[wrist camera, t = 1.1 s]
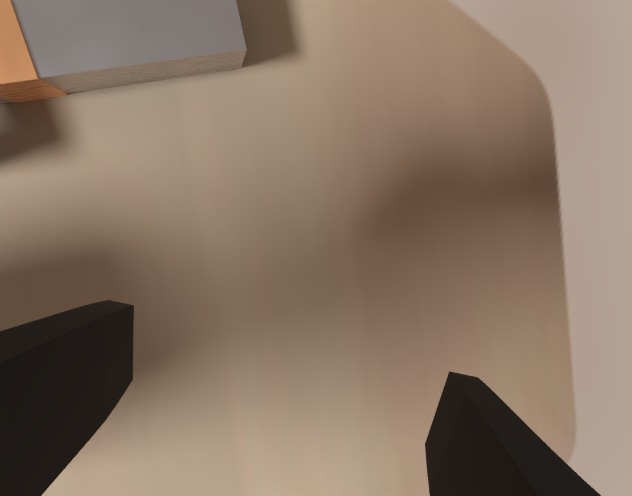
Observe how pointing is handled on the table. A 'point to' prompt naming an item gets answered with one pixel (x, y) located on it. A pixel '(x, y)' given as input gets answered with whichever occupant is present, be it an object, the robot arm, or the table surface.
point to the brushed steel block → (112, 43)
